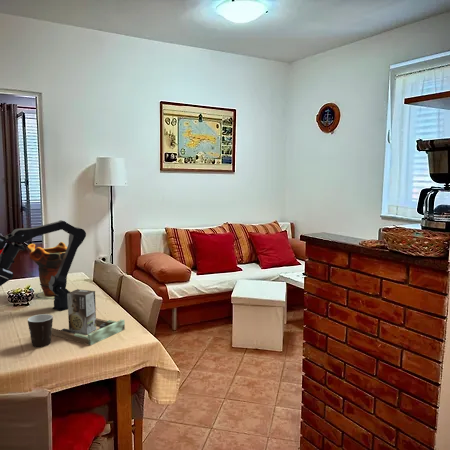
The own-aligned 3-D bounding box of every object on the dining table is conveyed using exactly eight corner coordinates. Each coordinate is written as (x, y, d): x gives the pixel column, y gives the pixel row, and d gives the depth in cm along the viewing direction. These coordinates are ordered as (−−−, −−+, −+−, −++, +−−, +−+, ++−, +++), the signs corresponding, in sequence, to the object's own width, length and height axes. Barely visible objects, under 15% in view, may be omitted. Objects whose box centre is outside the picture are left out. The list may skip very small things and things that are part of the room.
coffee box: (97, 329, 170) (96, 290, 168) (87, 334, 164) (85, 295, 162) (78, 326, 173) (77, 288, 171) (68, 331, 167) (66, 292, 165)
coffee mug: (33, 339, 159) (32, 314, 158) (57, 339, 159) (56, 313, 158) (21, 352, 147) (20, 325, 146) (46, 351, 148) (45, 324, 147)
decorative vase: (85, 291, 223) (81, 240, 219) (47, 304, 204) (41, 248, 200) (60, 285, 235) (56, 237, 230) (22, 297, 215) (16, 244, 211)
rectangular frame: (82, 319, 181) (82, 310, 181) (124, 329, 170) (124, 320, 170) (46, 333, 165) (46, 323, 165) (90, 345, 154) (90, 334, 153)
